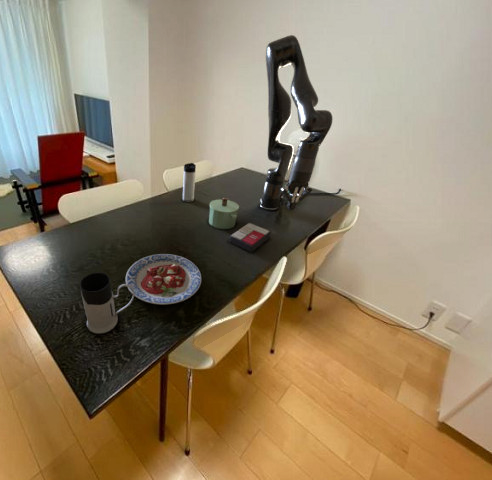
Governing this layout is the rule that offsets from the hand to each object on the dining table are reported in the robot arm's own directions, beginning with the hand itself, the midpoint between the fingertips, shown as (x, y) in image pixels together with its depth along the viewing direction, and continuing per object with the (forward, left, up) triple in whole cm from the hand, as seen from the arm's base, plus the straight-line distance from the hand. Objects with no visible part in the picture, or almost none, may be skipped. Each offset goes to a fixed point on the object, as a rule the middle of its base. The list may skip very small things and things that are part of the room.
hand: (290, 209), depth 110 cm
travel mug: (+34, -45, -14) cm, 58 cm away
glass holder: (+73, +36, -14) cm, 82 cm away
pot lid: (+23, -17, -6) cm, 29 cm away
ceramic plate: (+56, +21, -14) cm, 61 cm away
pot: (+23, -17, -14) cm, 32 cm away
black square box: (+16, 0, -14) cm, 21 cm away
